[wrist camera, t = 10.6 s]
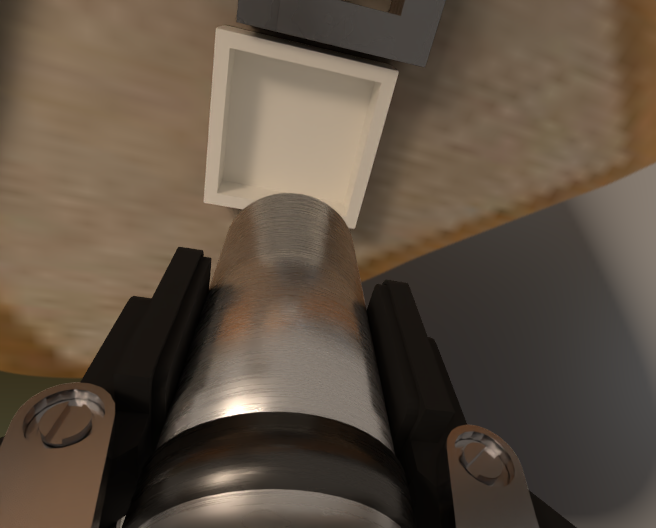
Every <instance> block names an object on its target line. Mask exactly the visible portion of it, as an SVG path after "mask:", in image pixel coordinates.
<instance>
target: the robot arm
mask: <svg viewBox="0 0 656 528" xmlns="http://www.w3.org/2000/svg"><path fill="white" fill-rule="evenodd" d="M203 256H204V254H203V250H197V249H190V248H184V247H178V249H177V250H176V252H175V254H174V256H173V258H172V260H171V262H170V264H169V266H168V268H167V270H166V272H165V274H164V276H163V278H162V280H161V282H160V284H159V285H158V287H157V289H156V291H155V293H154V295H153V297H152V298H144V297H137V296H133V297H131V298H130V299H129V301H128V302H127V304H126V305H125V307H124V309H123V311H122V312H121V314H120V316H119V317H118V319H117V321H116V322H115V324H114V326H113V328H112V329H111V331H110V333H109V334H108V336H107V338H106V339H105V341H104V343H103V345H102V346H101V348H100V350H99V351H98V353H97V355H96V357H95V358H94V360H93V362H92V363H91V365H90V367H89V368H88V370H87V372H86V374H85V375H84V377H83V379H82V380H81V382H80V383H78V382H75V383H67V384H60V385H57V386H54V387H51V388H49V389H46V390H44V391H42V392H40V393H39V394H37V395H35V396H33V397H31V398H30V399H29V400H28V401H27V402H26V403H25V404H23V405H22V406H21V407H20V408H19V410H18V411H17V413H16V414H15V416H14V418H13V419H12V421H11V423H10V426H9V428H8V430H7V433H6V435H5V436H4V437H1V438H0V528H120V524H121V518H122V517H124V516H125V515H126V514H127V511H128V508H129V505H130V502H131V499H132V496H133V494H134V491H135V488H136V485H137V482H138V479H139V476H140V473H141V471H142V468H143V466H144V465H145V463H146V462H147V460H148V458H149V457H150V456H151V455H152V454H153V453H154V452H155V450H156V447H157V444H158V441H159V438H160V435H161V432H162V429H163V426H164V424H165V421H166V418H167V415H168V412H169V409H170V406H171V403H172V400H173V397H174V393H175V390H176V387H177V384H178V381H179V378H180V375H181V372H182V369H183V366H184V363H185V360H186V357H187V354H188V351H189V348H190V345H191V342H192V339H193V336H194V333H195V330H196V327H197V324H198V321H199V318H200V315H201V312H202V309H203V306H204V303H205V300H206V297H207V294H208V291H209V282H210V271H211V258H209V257H203ZM367 315H368V320H369V326H370V331H371V336H372V341H373V346H374V351H375V356H376V361H377V366H378V371H379V376H380V381H381V386H382V391H383V396H384V401H385V406H386V411H387V416H388V421H389V426H390V431H391V436H392V441H393V447H394V452H395V456H396V457H397V459H398V460H399V461H400V463H401V465H402V467H403V469H404V472H405V476H406V479H407V484H408V489H409V493H410V498H411V503H412V507H413V512H414V517H415V522H416V526H417V528H576V527H575V526H574V525H573V524H571V523H570V522H569V521H567V520H566V519H565V518H564V517H562V516H561V515H560V514H558V513H557V512H556V511H555V510H553V509H552V508H551V507H550V506H548V505H547V504H546V503H544V502H543V501H542V500H541V499H539V498H538V497H537V496H535V495H534V494H533V493H532V492H530V491H529V490H528V487H527V483H526V479H525V476H524V472H523V469H522V466H521V464H520V462H519V459H518V457H517V456H516V454H515V453H514V451H513V450H512V449H511V448H510V446H509V445H508V444H507V443H506V442H505V441H504V440H502V439H501V438H500V437H499V436H497V435H496V434H494V433H492V432H491V431H489V430H487V429H485V428H482V427H479V426H475V425H467V423H466V421H465V418H464V415H463V413H462V410H461V407H460V405H459V402H458V399H457V397H456V394H455V392H454V389H453V387H452V384H451V381H450V378H449V376H448V373H447V371H446V368H445V365H444V363H443V360H442V357H441V355H440V352H439V350H438V347H437V345H436V343H435V341H434V339H432V338H430V337H427V334H426V332H425V329H424V326H423V323H422V320H421V318H420V315H419V312H418V309H417V307H416V304H415V301H414V298H413V296H412V293H411V290H410V287H409V285H408V284H407V283H403V282H397V281H391V280H385V281H384V282H383V284H382V285H380V284H377V285H376V286H375V288H374V291H373V293H372V297H371V299H370V302H369V305H368V308H367Z"/></svg>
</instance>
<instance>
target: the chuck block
mask: <svg viewBox="0 0 656 528" xmlns="http://www.w3.org/2000/svg"><path fill="white" fill-rule="evenodd" d="M445 1H446V0H391V4H390V8H389V12H388V13H387V12H383V11H379V10H375V9H372V8H368V7H364V6H360V5H356V4H352V3H348V2H345V1H341V0H238V10H237V21H236V22H238V23H243V24H247V25H251V26H255V27H259V28H263V29H268V30H272V31H276V32H280V33H284V34H288V35H292V36H297V37H301V38H305V39H309V40H313V41H317V42H321V43H326V44H330V45H334V46H338V47H342V48H346V49H350V50H355V51H359V52H363V53H367V54H371V55H375V56H380V57H384V58H388V59H392V60H396V61H400V62H404V63H409V64H413V65H417V66H421V67H425V66H426V63H427V59H428V56H429V53H430V50H431V46H432V43H433V40H434V37H435V33H436V30H437V27H438V24H439V21H440V17H441V14H442V11H443V8H444V4H445Z"/></svg>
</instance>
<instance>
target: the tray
mask: <svg viewBox="0 0 656 528" xmlns="http://www.w3.org/2000/svg"><path fill="white" fill-rule="evenodd" d="M398 73H399V71H398V70H397V69H395V68H394V67H393V66H392V65H390V64H387V63H382V62H378V61H374V60H370V59H366V58H362V57H357V56H353V55H349V54H345V53H341V52H336V51H332V50H328V49H324V48H320V47H316V46H311V45H307V44H303V43H299V42H295V41H290V40H286V39H282V38H278V37H274V36H270V35H265V34H261V33H257V32H253V31H249V30H244V29H240V28H236V27H232V26H228V25H223V26H220V27H217V28H216V34H215V49H214V63H213V77H212V91H211V105H210V119H209V133H208V148H207V162H206V176H205V190H204V203H209V204H215V205H221V206H226V207H232V208H238V209H244V208H245V207H247V206H248V205H249V204H251V203H252V202H254V201H256V200H258V199H260V198H263V197H265V196H269V195H273V194H279V193H297V194H303V195H307V196H311V197H314V198H316V199H319V200H321V201H322V202H324V203H326V204H328V205H329V206H330V207H332V208H333V209H334V210H335V211H336V212H337V213H338V214H339V215H340V216H341V217H342V218H343V220H344V221H345V223H346V224H347V226H348V228H353V229H355V226H356V223H357V219H358V216H359V212H360V208H361V205H362V201H363V198H364V194H365V191H366V187H367V184H368V180H369V176H370V173H371V169H372V166H373V162H374V159H375V155H376V151H377V148H378V144H379V141H380V137H381V134H382V130H383V127H384V123H385V119H386V116H387V112H388V109H389V105H390V102H391V98H392V95H393V91H394V87H395V84H396V80H397V77H398Z"/></svg>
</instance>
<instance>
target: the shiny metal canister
mask: <svg viewBox="0 0 656 528" xmlns="http://www.w3.org/2000/svg"><path fill="white" fill-rule="evenodd" d="M122 528H417V526H416V522H415V517H414V512H413V507H412V503H411V498H410V493H409V489H408V484H407V479H406V476H405V472H404V469H403V467H402V465H401V463H400V461H399V460H398V459H397V457H396V456H395V452H394V447H393V441H392V436H391V431H390V426H389V421H388V416H387V411H386V406H385V401H384V396H383V391H382V386H381V381H380V376H379V371H378V366H377V361H376V356H375V351H374V346H373V341H372V336H371V331H370V326H369V320H368V315H367V310H366V305H365V300H364V295H363V291H362V285H361V280H360V275H359V270H358V265H357V260H356V255H355V250H354V245H353V240H352V236H351V233H350V230H349V228H348V226H347V224H346V223H345V221H344V220H343V218H342V217H341V216H340V215H339V214H338V213H337V212H336V211H335V210H334V209H333V208H332V207H330V206H329V205H328V204H326V203H324V202H322V201H321V200H319V199H316V198H314V197H311V196H307V195H303V194H297V193H279V194H273V195H269V196H265V197H263V198H260V199H258V200H256V201H254V202H252V203H251V204H249V205H248V206H247V207H245V208H244V209H243V210H242V211H241V212H240V213H239V214H238V215H237V216H236V218H235V219H234V220H233V222H232V224H231V226H230V228H229V230H228V233H227V236H226V239H225V242H224V245H223V248H222V251H221V254H220V257H219V260H218V263H217V266H216V269H215V272H214V275H213V278H212V281H211V284H210V287H209V291H208V294H207V297H206V300H205V303H204V306H203V309H202V312H201V315H200V318H199V321H198V324H197V327H196V330H195V333H194V336H193V339H192V342H191V345H190V348H189V351H188V354H187V357H186V360H185V363H184V366H183V369H182V372H181V375H180V378H179V381H178V384H177V387H176V390H175V393H174V397H173V400H172V403H171V406H170V409H169V412H168V415H167V418H166V421H165V424H164V426H163V429H162V432H161V435H160V438H159V441H158V444H157V447H156V450H155V452H154V453H153V454H152V455H151V456H150V457H149V458H148V460H147V462H146V463H145V465H144V466H143V468H142V471H141V473H140V476H139V479H138V482H137V485H136V488H135V491H134V494H133V496H132V499H131V502H130V505H129V508H128V511H127V514H126V517H125V520H124V523H123V525H122Z"/></svg>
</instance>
